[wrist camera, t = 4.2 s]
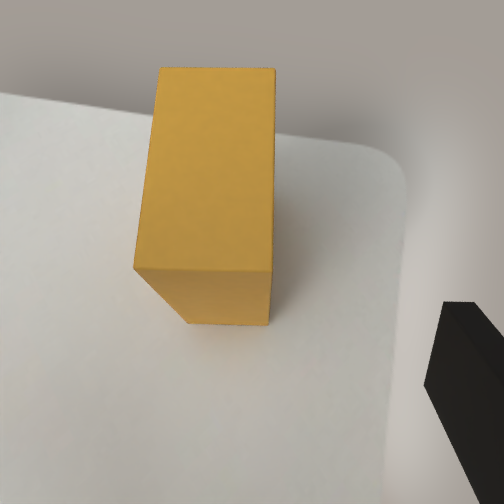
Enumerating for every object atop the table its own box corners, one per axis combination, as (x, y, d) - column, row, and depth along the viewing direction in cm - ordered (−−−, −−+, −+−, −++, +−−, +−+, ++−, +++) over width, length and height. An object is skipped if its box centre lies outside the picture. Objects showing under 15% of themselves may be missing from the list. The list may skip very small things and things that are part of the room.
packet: (270, 192, 25) (275, 66, 15) (268, 325, 22) (272, 272, 13) (198, 191, 25) (159, 66, 16) (187, 323, 22) (131, 268, 13)
